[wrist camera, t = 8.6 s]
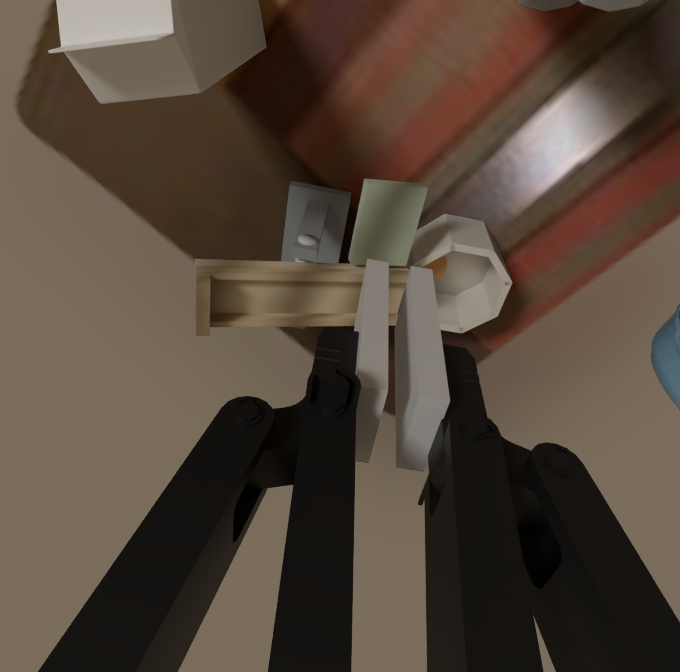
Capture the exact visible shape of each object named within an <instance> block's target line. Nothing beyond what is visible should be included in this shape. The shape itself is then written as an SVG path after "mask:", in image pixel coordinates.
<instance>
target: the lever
mask: <svg viewBox="0 0 680 672" xmlns="http://www.w3.org/2000/svg"><path fill="white" fill-rule="evenodd" d="M427 191H428V188H427V187H426V186H425V185H424V183H412V182H399V181H387V180H375V179H364V183H363V188H362V193H361V198H360V203H359V207H358V212H357V217H356V222H355V227H354V232H353V237H352V242H351V247H350V252H349V257H348V259H349V261H350V263H351V264H345V263H310V262H276V261H241V260H207V259H195V261H196V334H197V336H209V335H210V334H209V333H210V327H279V326H355V320H356V314H357V309H358V304H359V299H360V294H361V289H362V283H363V278H364V273H365V268H366V263H367V259H372V260H378V261H384V262H389V309H388V326H395V325H396V322H397V318H398V310H399V306H400V303H401V300H402V296H403V293H404V289H405V286H406V283H407V279H408V275H409V269H408V268H407V266H406V264H407V261H408V257H409V254H410V250H411V247H412V243H413V240H414V236H415V233H416V229H417V226H418V222H419V219H420V215H421V212H422V208H423V205H424V201H425V198H426V194H427Z"/></svg>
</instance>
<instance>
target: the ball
mask: <svg viewBox="0 0 680 672" xmlns="http://www.w3.org/2000/svg"><path fill="white" fill-rule="evenodd" d="M421 268H426V269H432V271H433V279H434V280H437V279H439V278H440V277H442V276H443V275H444V273H445V272H446V269H447V260H446V257H445V256H444V255H443V256H441V257H439V258H438V259H436V260H434V261H432V262H430V263H429V264H427V265H425V266H423V267H421Z"/></svg>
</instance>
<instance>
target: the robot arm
mask: <svg viewBox="0 0 680 672" xmlns="http://www.w3.org/2000/svg"><path fill="white" fill-rule="evenodd" d="M388 309H389V262H384V261H378V260H372V259H367V263H366V268H365V273H364V278H363V283H362V289H361V294H360V299H359V304H358V309H357V314H356V320H355V327H354V331H351V330H345V329H338V328H332V327H327V328H326V329H325V330H324V331H323V332H322V333H321V334H320V335H319V337H318V342H317V347H316V352H315V358H314V363H313V368H312V372H311V374H310V376H309V378H308V383H307V390H306V396H305V397H304V398H303V400H301V401H300V402H299V403H297V404H295V405H293V406H290V407H284V408H277V409H272V407H271V406H270V405H269V404H268V403H267V402H266V401H263V400H261V399H259V398H256V397H250V396H245V397H237V398H235V399H232V400H230V401H228V402H227V403H226V404H225V405H224V406H223V407H222V408H221V409H220V411H219V412H218V414H217V415H216V417H215V418H214V420H213V421H212V422H211V424H210V425H209V427H208V428H207V429H206V431H205V432H204V434H203V435H202V437H201V438H200V440H199V441H198V442H197V444H196V445H195V447H194V448H193V449H192V451H191V452H190V454H189V455H188V457H187V458H186V460H185V461H184V463H183V464H182V465H181V467H180V468H179V470H178V471H177V473H176V474H175V476H174V477H173V478H172V480H171V481H170V483H169V484H168V486H167V487H166V488H165V490H164V491H163V493H162V494H161V495H160V497H159V498H158V500H157V501H156V503H155V504H154V506H153V507H152V508H151V510H150V511H149V513H148V514H147V516H146V517H145V518H144V520H143V521H142V523H141V524H140V526H139V527H138V529H137V530H136V532H135V533H134V534H133V536H132V537H131V539H130V540H129V541H128V543H127V544H126V546H125V547H124V549H123V550H122V552H121V553H120V554H119V556H118V557H117V559H116V560H115V562H114V563H113V565H112V566H111V568H110V569H109V570H108V572H107V573H106V575H105V576H104V577H103V579H102V580H101V582H100V583H99V585H98V586H97V588H96V589H95V590H94V592H93V593H92V595H91V596H90V598H89V599H88V601H87V602H86V603H85V605H84V606H83V608H82V609H81V611H80V612H79V613H78V615H77V616H76V618H75V619H74V621H73V622H72V623H71V625H70V626H69V628H68V629H67V631H66V632H65V634H64V635H63V636H62V638H61V639H60V641H59V642H58V644H57V645H56V647H55V648H54V649H53V651H52V652H51V654H50V655H49V657H48V658H47V659H46V661H45V663H44V664H43V665H42V667H41V668H40V670H39V671H38V672H178V670H179V668H180V666H181V664H182V662H183V660H184V658H185V656H186V654H187V652H188V650H189V648H190V646H191V643H192V641H193V639H194V638H195V635H196V633H197V631H198V629H199V627H200V625H201V623H202V621H203V619H204V617H205V615H206V613H207V611H208V609H209V607H210V605H211V603H212V601H213V599H214V597H215V595H216V593H217V591H218V588H219V587H220V585H221V583H222V581H223V578H224V576H225V574H226V572H227V570H228V568H229V566H230V564H231V562H232V560H233V558H234V556H235V554H236V552H237V550H238V548H239V546H240V544H241V542H242V540H243V537H244V536H245V534H246V532H247V529H248V528H249V526H250V523H251V521H252V519H253V517H254V515H255V513H256V511H257V509H258V507H259V505H260V503H261V501H262V499H263V497H264V495H265V493H266V491H267V488H272V487H279V486H287V485H293V493H292V499H291V507H290V515H289V522H288V529H287V537H286V543H285V551H284V558H283V565H282V573H281V580H280V587H279V595H278V602H277V609H276V617H275V625H274V631H273V639H272V646H271V653H270V660H269V668H268V672H351V653H352V604H353V552H354V499H355V461H359V462H365V463H369V459H370V455H371V452H372V448H373V444H374V440H375V437H376V433H377V430H378V426H379V422H380V418H381V415H382V411H383V407H384V404H385V400H386V396H387V393H388ZM651 351H652V352H651V360H652V364H653V368H654V370H655V373H656V375H657V377H658V379H659V381H660V383H661V385H662V386H663V388H664V390H665V391H666V392H667V394H668V395H669V397H670V398H671V399H672V401H673V402H674V403H675V405H676V406H677V407H678V408H679V410H680V304H679V305H678V307H677V310H676V312H675V313H674V314H673V315H672V316H671V318H670V319H669V320H668V321H667V322H666V323H665V324H664V325H663V326H662V327H661V328H660V329H659V331H658V332H657V333H656V334H655V336H654V338H653V341H652V346H651ZM395 399H396V467H397V468H403V469H410V470H416V471H422V472H423V471H424V469H425V466H426V463H427V461H428V465H429V475H428V477H427V480H426V483H425V485H424V488H423V490H422V493H421V496H420V498H419V502H418V505H422V504H423V501H424V499H425V555H426V620H427V621H426V622H427V672H543V667H542V661H541V656H540V650H539V645H538V639H537V634H536V628H535V622H534V618H535V620H536V623H537V625H538V628H539V630H540V633H541V635H542V638H543V640H544V642H545V645H546V648H547V650H548V653H549V655H550V658H551V660H552V663H553V665H554V668H555V670H556V672H680V622H679V620H678V619H677V617H676V616H675V614H674V612H673V611H672V609H671V607H670V606H669V604H668V602H667V601H666V599H665V598H664V596H663V594H662V593H661V591H660V589H659V588H658V586H657V585H656V583H655V581H654V580H653V578H652V576H651V574H650V573H649V571H648V570H647V568H646V566H645V565H644V563H643V562H642V560H641V558H640V556H639V555H638V553H637V551H636V550H635V548H634V547H633V545H632V543H631V542H630V540H629V538H628V537H627V535H626V534H625V532H624V530H623V529H622V527H621V525H620V524H619V522H618V520H617V519H616V517H615V515H614V514H613V512H612V510H611V509H610V508H609V505H608V504H607V502H606V501H605V499H604V497H603V496H602V494H601V492H600V491H599V489H598V487H597V486H596V484H595V483H594V481H593V479H592V478H591V476H590V474H589V473H588V471H587V470H586V468H585V466H584V464H583V463H582V462H581V461H580V460H579V458H578V457H577V456H576V455H575V454H574V453H572V452H571V451H570V450H568V449H567V448H564V447H562V446H560V445H558V444H553V443H542V444H538V445H537V446H535V447H534V448H533V449H532V451H531V450H528V449H526V448H523V447H521V446H518V445H516V444H514V443H511V442H509V441H508V440H506V439H504V438H503V437H501V434H500V432H499V430H498V427H497V426H496V425H495V424H494V423H493V422H492V421H491V420H490V419H489V418H487V414H486V409H485V405H484V400H483V396H482V391H481V386H480V384H479V377H478V374H477V367H476V362H475V359H474V358H473V357H472V355H471V354H470V353H469V351H468V350H467V349H466V348H462V347H456V346H450V345H444V344H442V337H441V330H440V323H439V315H438V308H437V301H436V293H435V286H434V279H433V271H432V269H426V268H420V267H414V266H411V267H410V271H409V275H408V279H407V283H406V287H405V291H404V294H403V298H402V302H401V306H400V310H399V314H398V318H397V322H396V326H395ZM533 615H534V617H533Z"/></svg>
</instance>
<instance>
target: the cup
mask: <svg viewBox="0 0 680 672" xmlns="http://www.w3.org/2000/svg"><path fill="white" fill-rule="evenodd" d="M443 255H444V256H445V257H446V260H447V269H446V272H445V273H444V275H443V276H442V277H440V278H439V279H437V280H434V286H435V293H436V301H437V308H438V315H439V323H440V330H445V331H451V332H456V333H464V332H466V331H468V330H470V329H472V328H474V327H476V326H478V325H481V324H483V323H485V322H487V321H489V320H491V319H493V318H495V317H498V314H499V312H500V310H501V308H502V305H503V303H504V301H505V299H506V296H507V294H508V292H509V289H510V287H511V285H512V283H513V282H512V280H511V277H510V275H509V272H508V270H507V267H506V265H505V262H504V260H503V257H502V254H501V252H500V250H499V248H498V246H497V244H496V243H495V241H494V239H493V237H492V236H491V234H490V232H489V230H488V229H487V227H486V225H485V223H484V222H483V221H480V220H475V219H470V218H465V217H459V216H454V215H449V214H444V215H442V216H440V217H439V218H437V219H435V220H434V221H432V222H430V223H428V224H427V225H425V226H423V227H421V228H420V229H418V230H416V233H415V236H414V240H413V243H412V247H411V250H410V254H409V257H408V261H407V264H406V266H407V268H408V269H409V271H410V267H411V266H414V267H420V268H421V267H423V266H425V265H427V264H429V263H430V262H432V261H434V260H436V259H438V258H439V257H441V256H443ZM405 287H406V286H405ZM404 291H405V289H404ZM403 294H404V293H403Z"/></svg>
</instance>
